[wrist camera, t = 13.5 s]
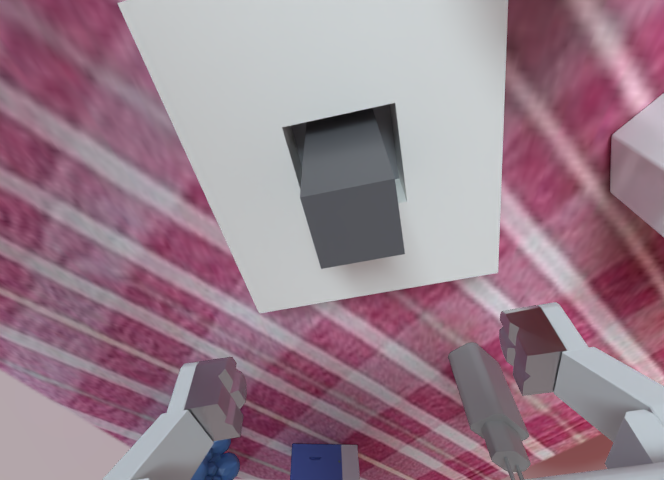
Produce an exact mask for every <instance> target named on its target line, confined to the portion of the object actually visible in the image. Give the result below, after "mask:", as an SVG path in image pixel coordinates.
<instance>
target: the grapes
mask: <svg viewBox="0 0 664 480" xmlns="http://www.w3.org/2000/svg"><path fill="white" fill-rule="evenodd" d="M213 442H214V444H213V445H212V447H211V448H210V450H209V452H208V453H207V455H206V456H205V458H204V459H203V461H202V462H201V464H200V466H199V467H198V469H197V470H196V472H195V473H194V475H193V476H192V478H191V480H233V479H234V478H235V477H236V476H237V474H238V472H239V469H240V462H239V459H238V458H237V456H236V455H235V454H233V453H230V452H228V453H224V452H225V451H226V450H228V448H229V446H230V444H231V438H230V439H225V440H219V441H213ZM223 453H224V454H223Z"/></svg>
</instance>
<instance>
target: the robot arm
mask: <svg viewBox="0 0 664 480" xmlns="http://www.w3.org/2000/svg"><path fill="white" fill-rule="evenodd" d="M500 321H501V323H502V325H503V327H502V328H501V329H500V330H499V339H500V344H501V349H502V351H503V354H504V357H505V359H506V361H507V362H508V363H509V364H511V365H512V366H513V377H514V379H515V381H516V383H517V385H518V387H519V390H520V392H521V394H522V396H524V395H532V394H541V393H549V392H554V394H555V395H556V396H557V397H559V398H560V399H561V400H562V401H563V402H565V403H566V404H567V405H568V406H570V407H571V408H572V409H573V410H574V411H576V412H577V413H578V414H579V415H581V416H582V417H583V418H584V419H586V420H587V421H588V422H589V423H590V424H592V425H593V426H594V427H595V428H597V429H598V430H599V431H600V432H601V433H603V434H604V435H605V436H607V437H608V438H609V439H610V440H611V441H613V442H614V443H613V445H612V448H611V450H610V453H609V455H608V457H607V460H606V462H605V465H606V467H607V469H604V470H596V471H588V472H581V473H572V474H564V475H556V476H548V477H540V478H532V479H524V480H664V386H662V385H661V384H659V383H657V382H655V381H654V380H652V379H650V378H648V377H647V376H645V375H643V374H641V373H639V372H638V371H636V370H634V369H632V368H631V367H629V366H627V365H625V364H624V363H622V362H620V361H618V360H617V359H615V358H613V357H611V356H609V355H608V354H606V353H604V352H602V351H601V350H599V349H597V348H595V347H590V348H589V347H588V346H587V344H586V343H585V341H584V340H583V338H582V337H581V335H580V334H579V333H578V331H577V330H576V328H575V327H574V325H573V324H572V322H571V321H570V319H569V318H568V316H567V315H566V313H565V312H564V310H563V309H562V308H561V306H560V305H559V304H558V303H556V302H554V303H548V304H542V305H537V306H536V305H534V306H528V307H523V308H517V309H512V310H506V311H502V312H501V314H500ZM236 364H237V363H236V362H235V360H234V359H233V357H227V358H220V359H213V360H206V361H199V362H192V363H186V364H184V365H183V366H182V367H181V369H180V372H179V375H178V378H177V381H176V384H175V387H174V390H173V394H172V397H171V400H170V403H169V406H168V409H167V413H163V414H161V415H160V416H159V418H158V419H157V420H156V421H155V422H154V423H153V424H152V425H151V426H150V427H149V429H148V430H147V431H146V432H145V433H144V434H143V435H142V436H141V437H140V439H139V440H138V441H137V442H136V443H135V444H134V445H133V446H132V447H131V448H130V450H129V451H128V452H127V453H126V454H125V455H124V456H123V457H122V458H121V459H120V461H119V462H118V463H117V464H116V465H115V466H114V467H113V468H112V470H111V471H110V472H109V473H108V474H107V475H106V476H105V477H104V478H103V479H102V480H191V478H192V476H193V475H194V473H195V472H196V470H197V469H198V467H199V466H200V464H201V462H202V461H203V459H204V458H205V456H206V455H207V453H208V452H209V450H210V448H211V447H212V445H213V444H214V442H213V441H219V440H225V439H230V438H236V437H240V435H241V429H242V422H243V414H242V412H241V411H240V408H241V407H242V406H243V405H244V403H245V402H246V395H247V389H246V381H245V378H244V375H243V374H242V372H241V371H239V370H237V369H236Z"/></svg>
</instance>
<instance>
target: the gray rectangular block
mask: <svg viewBox="0 0 664 480" xmlns="http://www.w3.org/2000/svg"><path fill="white" fill-rule="evenodd" d="M300 199H301V203H302V206H303V209H304V213H305V216H306V220H307V223H308V226H309V230H310V233H311V236H312V240H313V243H314V246H315V250H316V253H317V257H318V260H319V263H320V267H321V269H324V268H329V267H335V266H341V265H346V264H352V263H357V262H363V261H369V260H374V259H380V258H386V257H391V256H397V255H402V254H405V250H404V243H403V236H402V228H401V221H400V213H399V206H398V198H397V191H396V183H395V177H394V174H393V171H392V168H391V165H390V162H389V159H388V156H387V152H386V149H385V146H384V143H383V140H382V137H381V134H380V131H379V127H378V124H377V121H376V118H375V115H374V112H373V109H372V108H369V109H365V110H360V111H355V112H351V113H346V114H342V115H337V116H332V117H328V118H323V119H319V120H314V121H309V122H306V131H305V143H304V155H303V167H302V179H301V191H300Z"/></svg>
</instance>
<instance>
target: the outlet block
mask: <svg viewBox="0 0 664 480" xmlns="http://www.w3.org/2000/svg"><path fill="white" fill-rule="evenodd" d="M118 6H119V8H120V10H121V12H122V14H123V17H124V19H125V21H126V23H127V25H128V28H129V30H130V32H131V34H132V36H133V38H134V41H135V43H136V45H137V47H138V49H139V52H140V54H141V56H142V58H143V60H144V63H145V65H146V67H147V69H148V71H149V73H150V76H151V78H152V80H153V82H154V84H155V87H156V89H157V91H158V93H159V95H160V98H161V100H162V102H163V104H164V106H165V108H166V111H167V113H168V115H169V117H170V119H171V122H172V124H173V126H174V128H175V130H176V133H177V135H178V137H179V139H180V141H181V144H182V146H183V148H184V150H185V152H186V154H187V157H188V159H189V161H190V163H191V165H192V168H193V170H194V172H195V174H196V176H197V179H198V181H199V183H200V185H201V187H202V189H203V192H204V194H205V196H206V198H207V200H208V203H209V205H210V207H211V209H212V211H213V214H214V216H215V218H216V220H217V222H218V225H219V227H220V229H221V231H222V233H223V235H224V238H225V240H226V242H227V244H228V246H229V249H230V251H231V253H232V255H233V257H234V260H235V262H236V264H237V266H238V268H239V270H240V273H241V275H242V277H243V279H244V281H245V284H246V286H247V288H248V290H249V292H250V295H251V297H252V299H253V301H254V303H255V305H256V308H257V310H258V312H259V313H265V312H271V311H277V310H283V309H288V308H294V307H300V306H306V305H312V304H318V303H324V302H330V301H335V300H341V299H347V298H353V297H359V296H365V295H371V294H377V293H383V292H388V291H394V290H400V289H406V288H412V287H418V286H424V285H430V284H435V283H441V282H447V281H453V280H459V279H465V278H471V277H477V276H483V275H488V274H494V273H498V259H499V233H500V206H501V179H502V152H503V126H504V99H505V72H506V45H507V19H508V0H127V1H123V2H120V3H118ZM369 108H372V109H373V112H374V115H375V118H376V121H377V124H378V127H379V131H380V134H381V137H382V140H383V143H384V146H385V149H386V152H387V156H388V159H389V162H390V165H391V168H392V171H393V174H394V177H395V183H396V191H397V198H398V206H399V213H400V221H401V228H402V236H403V243H404V250H405V254H402V255H397V256H391V257H386V258H380V259H374V260H369V261H363V262H357V263H352V264H346V265H341V266H335V267H329V268H324V269H321V267H320V263H319V260H318V257H317V253H316V250H315V246H314V243H313V240H312V236H311V233H310V230H309V226H308V223H307V220H306V216H305V213H304V209H303V206H302V203H301V199H300V191H301V179H302V167H303V155H304V143H305V131H306V122H309V121H314V120H319V119H323V118H328V117H332V116H337V115H342V114H346V113H351V112H355V111H360V110H365V109H369Z"/></svg>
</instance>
